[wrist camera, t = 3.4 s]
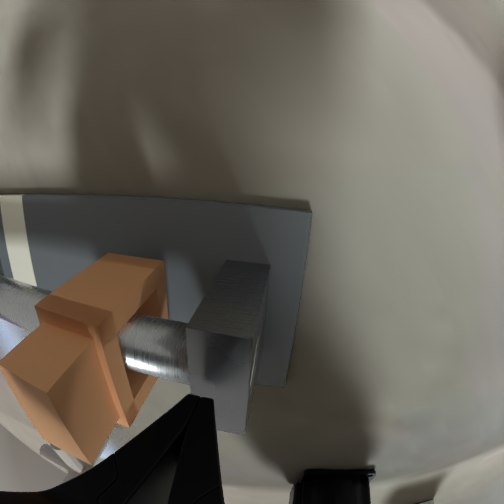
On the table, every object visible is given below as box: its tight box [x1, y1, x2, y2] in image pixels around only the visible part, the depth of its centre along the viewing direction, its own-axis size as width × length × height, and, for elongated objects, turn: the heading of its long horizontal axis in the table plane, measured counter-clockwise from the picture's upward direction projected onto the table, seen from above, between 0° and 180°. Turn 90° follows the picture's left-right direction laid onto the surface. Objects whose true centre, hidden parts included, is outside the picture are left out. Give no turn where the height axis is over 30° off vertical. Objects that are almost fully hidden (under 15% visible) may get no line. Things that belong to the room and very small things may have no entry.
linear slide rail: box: [0, 259, 271, 435], centre depth 13 cm, size 22×5×5 cm, turn 86°
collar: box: [0, 253, 168, 465], centre depth 10 cm, size 3×5×8 cm, turn 176°
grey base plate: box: [0, 194, 312, 388], centre depth 16 cm, size 25×10×1 cm, turn 86°
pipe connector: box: [40, 438, 109, 483], centre depth 18 cm, size 10×10×10 cm
